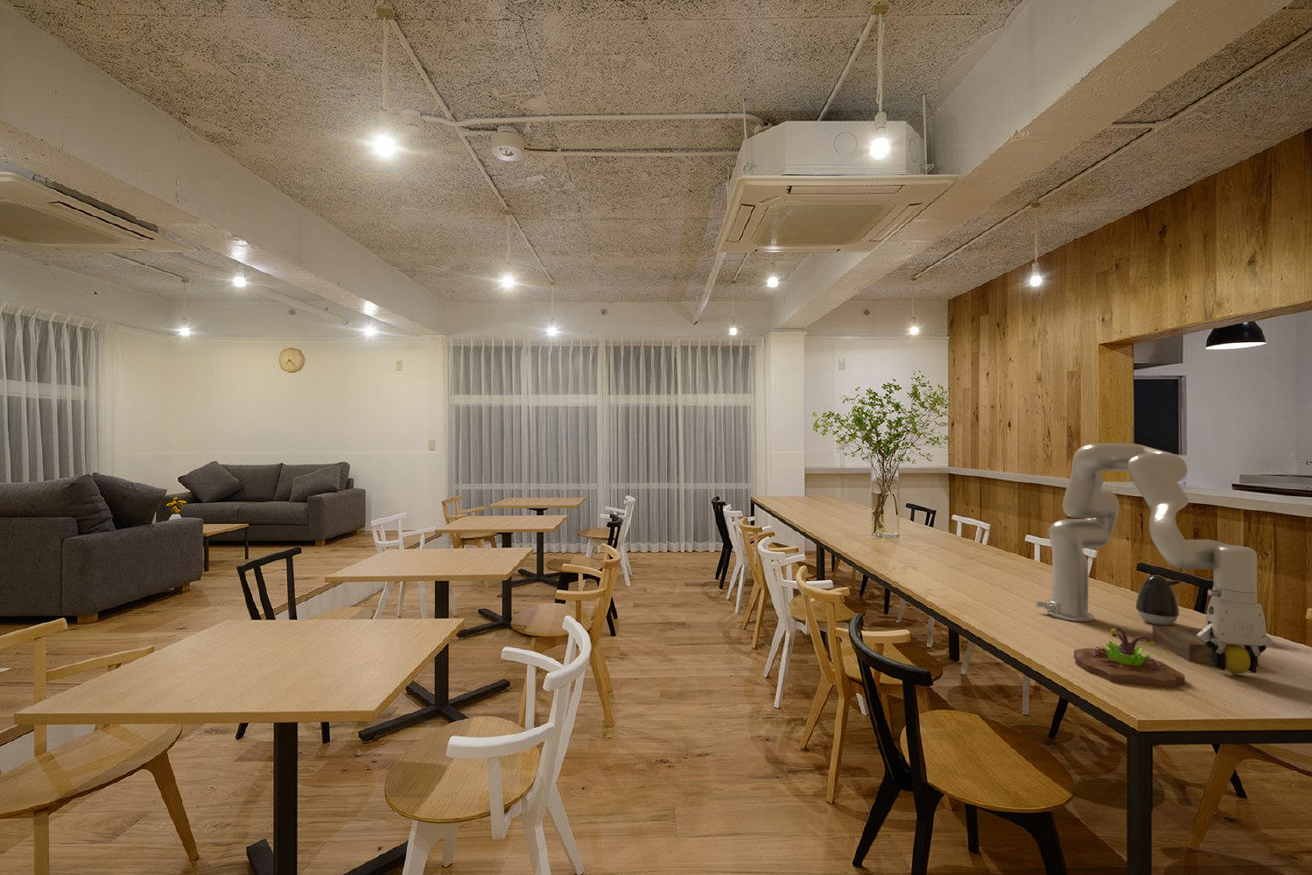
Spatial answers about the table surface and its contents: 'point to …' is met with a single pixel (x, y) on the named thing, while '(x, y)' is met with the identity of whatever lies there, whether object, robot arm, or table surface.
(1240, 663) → the lemon
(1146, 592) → the pump dispenser
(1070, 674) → the table surface
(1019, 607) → the table surface
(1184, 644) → the walnut block
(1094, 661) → the plant
